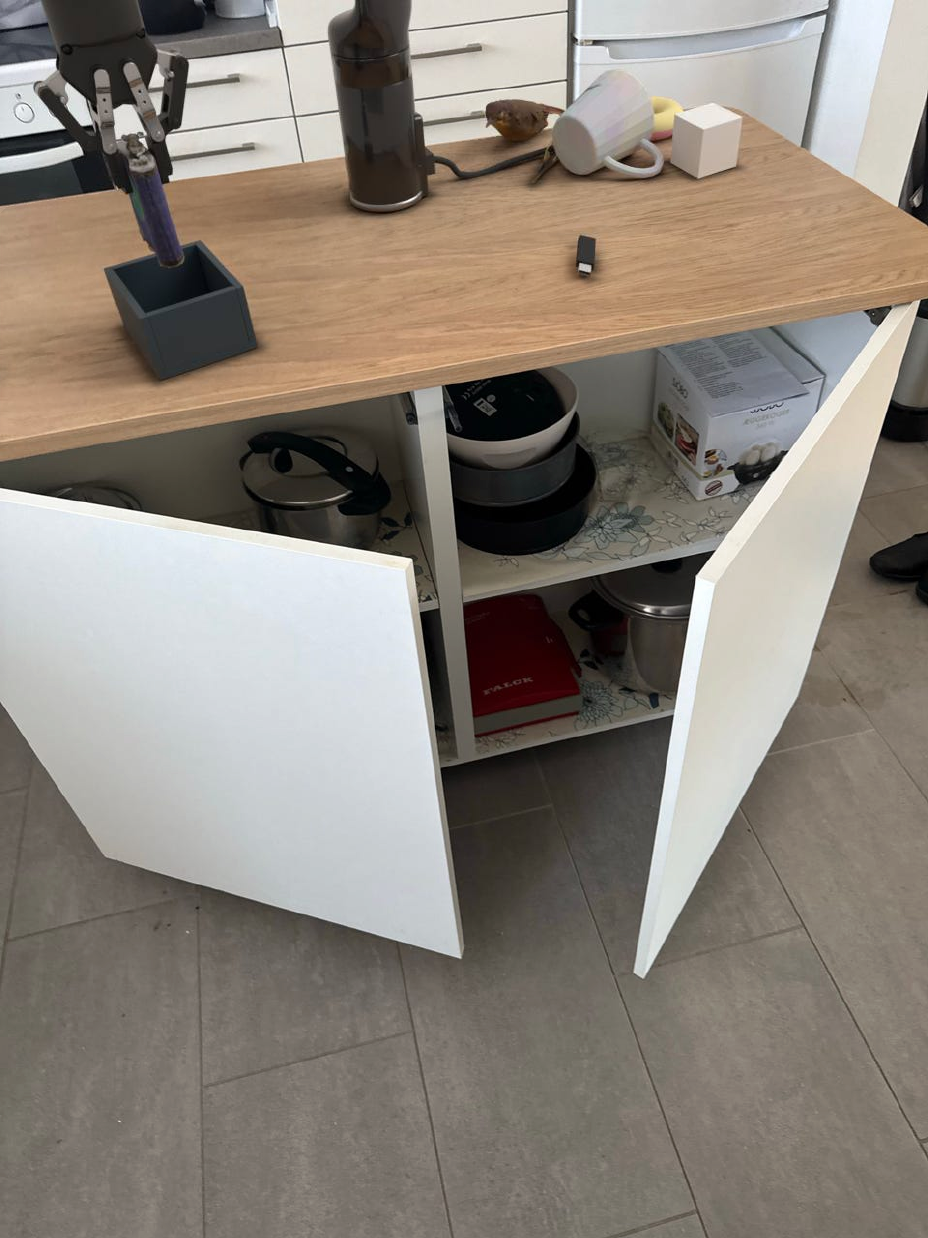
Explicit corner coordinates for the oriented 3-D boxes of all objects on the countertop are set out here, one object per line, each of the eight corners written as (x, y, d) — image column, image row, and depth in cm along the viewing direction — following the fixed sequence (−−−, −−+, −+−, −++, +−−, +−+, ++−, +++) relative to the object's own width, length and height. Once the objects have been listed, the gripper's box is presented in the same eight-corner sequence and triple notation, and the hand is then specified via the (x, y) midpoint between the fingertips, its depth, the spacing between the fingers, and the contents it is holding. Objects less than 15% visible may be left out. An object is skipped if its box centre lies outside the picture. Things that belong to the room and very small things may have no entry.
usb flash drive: (576, 266, 103) (574, 275, 104) (594, 270, 103) (591, 279, 104) (579, 234, 108) (577, 242, 109) (596, 237, 108) (593, 246, 109)
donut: (689, 141, 133) (634, 118, 137) (700, 106, 130) (643, 84, 133) (654, 154, 127) (598, 130, 130) (665, 117, 124) (606, 94, 127)
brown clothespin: (539, 186, 121) (538, 175, 120) (520, 186, 122) (519, 175, 121) (570, 149, 128) (569, 138, 127) (552, 149, 129) (551, 138, 128)
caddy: (216, 298, 105) (200, 239, 100) (258, 347, 98) (243, 286, 93) (124, 327, 102) (103, 268, 97) (160, 380, 94) (139, 319, 89)
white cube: (674, 113, 119) (669, 162, 123) (703, 128, 115) (697, 178, 120) (713, 102, 121) (707, 150, 125) (743, 116, 117) (736, 166, 121)
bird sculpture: (579, 138, 141) (585, 100, 138) (504, 149, 122) (509, 105, 119) (539, 130, 143) (544, 93, 140) (459, 140, 124) (464, 97, 122)
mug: (534, 151, 125) (584, 116, 129) (614, 225, 124) (662, 188, 127) (554, 85, 115) (607, 49, 119) (641, 165, 114) (692, 126, 117)
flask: (138, 233, 95) (103, 120, 88) (166, 226, 96) (134, 114, 88) (161, 270, 90) (127, 153, 82) (191, 262, 90) (160, 145, 83)
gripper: (149, -56, 80) (202, 154, 93) (-18, -25, 76) (61, 192, 89) (178, -40, 76) (229, 179, 88) (1, -5, 71) (82, 220, 84)
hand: (144, 185), depth 88 cm, fingers closed on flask, 3 cm apart
